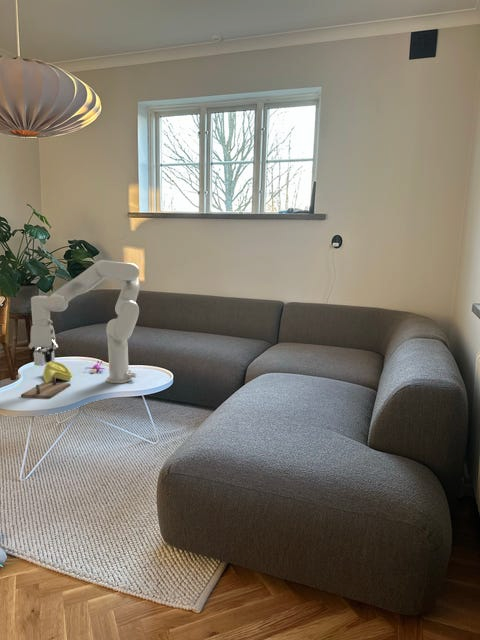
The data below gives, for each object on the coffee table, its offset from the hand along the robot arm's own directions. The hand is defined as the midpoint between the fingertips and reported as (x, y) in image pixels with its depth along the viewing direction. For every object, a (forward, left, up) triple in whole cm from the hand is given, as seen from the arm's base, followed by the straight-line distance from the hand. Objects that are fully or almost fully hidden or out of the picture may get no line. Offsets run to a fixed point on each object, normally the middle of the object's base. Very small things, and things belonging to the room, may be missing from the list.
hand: (44, 361), depth 197 cm
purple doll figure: (-8, -41, -11) cm, 43 cm away
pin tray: (0, 0, -15) cm, 15 cm away
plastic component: (+6, -21, -15) cm, 26 cm away
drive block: (0, 0, -1) cm, 1 cm away
